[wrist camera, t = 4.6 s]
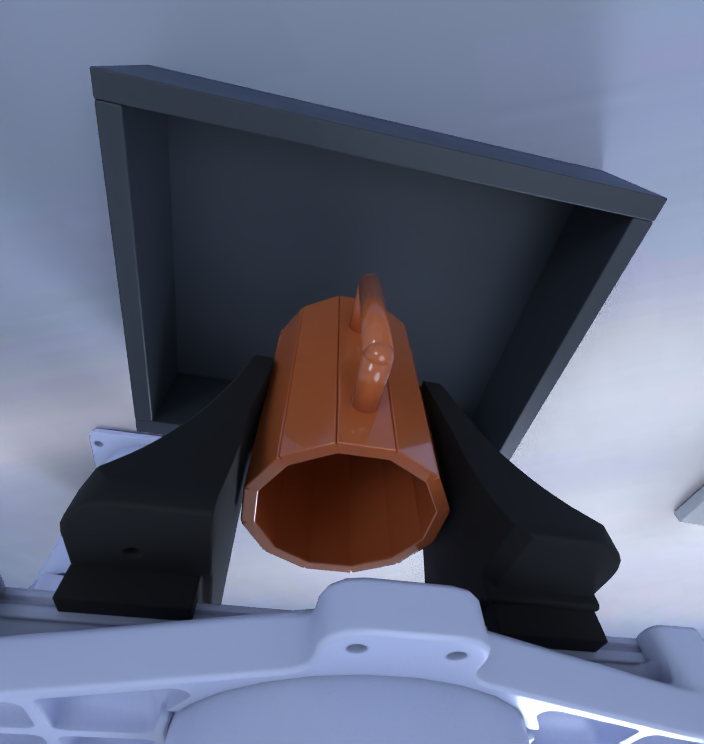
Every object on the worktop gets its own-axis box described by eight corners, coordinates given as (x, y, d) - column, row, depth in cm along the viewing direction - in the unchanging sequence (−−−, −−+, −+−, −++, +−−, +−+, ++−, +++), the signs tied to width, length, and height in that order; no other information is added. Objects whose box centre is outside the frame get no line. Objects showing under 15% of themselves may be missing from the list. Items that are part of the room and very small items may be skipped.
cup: (392, 415, 18) (414, 579, 12) (272, 398, 17) (236, 562, 12) (444, 264, 14) (511, 401, 8) (291, 234, 13) (253, 360, 8)
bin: (477, 421, 27) (498, 478, 23) (167, 375, 24) (136, 431, 21) (603, 171, 18) (668, 198, 15) (147, 64, 16) (89, 65, 12)
